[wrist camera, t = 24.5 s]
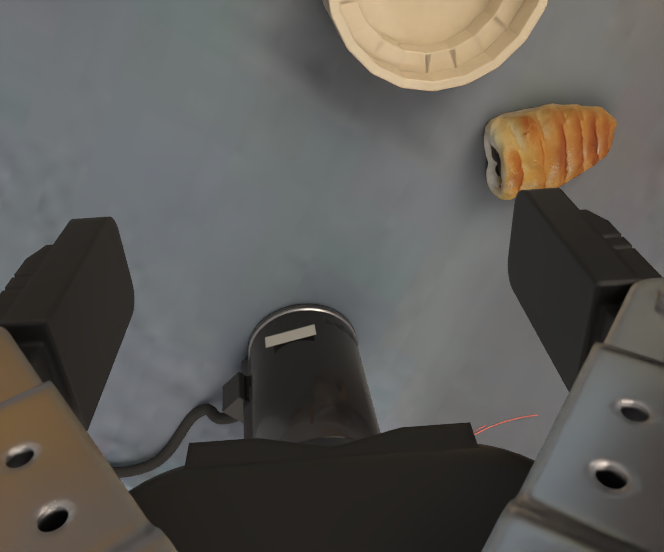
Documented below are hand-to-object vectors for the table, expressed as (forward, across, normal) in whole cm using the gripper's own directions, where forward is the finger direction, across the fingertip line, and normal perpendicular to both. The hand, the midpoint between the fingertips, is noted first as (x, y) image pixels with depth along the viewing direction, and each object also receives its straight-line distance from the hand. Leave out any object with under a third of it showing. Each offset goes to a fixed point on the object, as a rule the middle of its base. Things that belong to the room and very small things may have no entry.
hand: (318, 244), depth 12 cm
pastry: (+32, -16, +10) cm, 38 cm away
